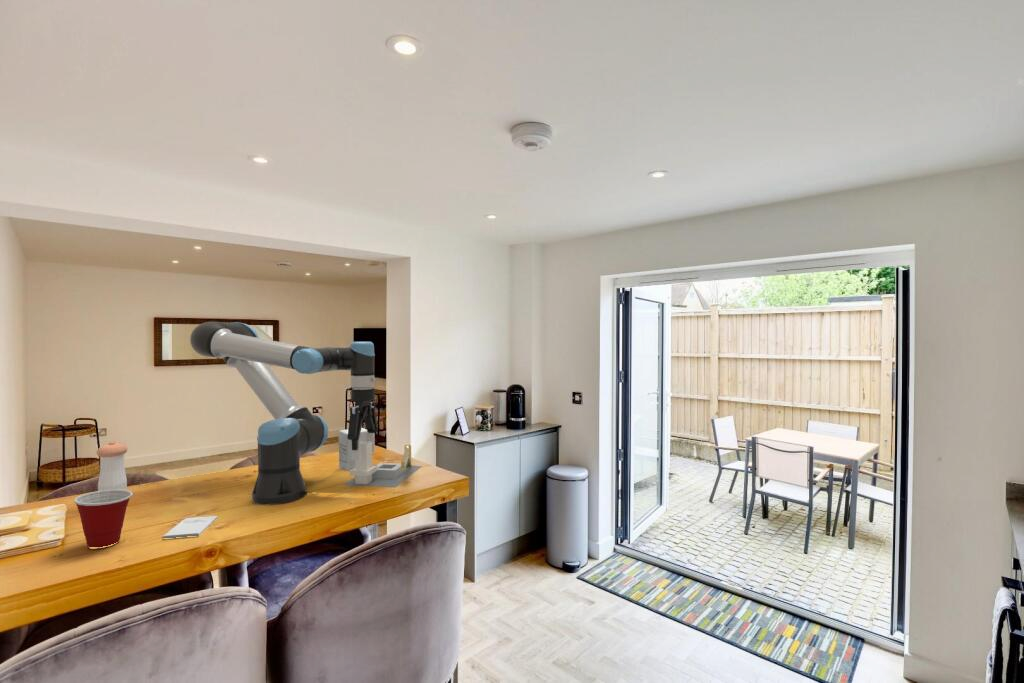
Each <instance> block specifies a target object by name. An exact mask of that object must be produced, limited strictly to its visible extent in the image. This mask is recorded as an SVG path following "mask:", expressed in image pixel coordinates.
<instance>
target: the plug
mask: <svg viewBox="0 0 1024 683" xmlns="http://www.w3.org/2000/svg"><path fill="white" fill-rule="evenodd" d="M376 471H377V466H375V465H373V453H372V442H362V441H361V460H355V468H354V469H352V470H350V471H349V476H354V478H355V484H368V483H370V482H371V481H372V474H373V473H374V472H376Z"/></svg>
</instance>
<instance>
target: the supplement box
mask: <svg viewBox="0 0 1024 683" xmlns="http://www.w3.org/2000/svg"><path fill="white" fill-rule="evenodd" d="M348 429H349V428H347V429H340V430H338V470H339V471H341V470H345V471H349V472H350V470H352V469H354V468H355V460H352V443H351V440H348ZM366 433H369V432H367V428H364V427H361V432H360V436H359V439H361V441H362V442H366Z"/></svg>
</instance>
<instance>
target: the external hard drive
mask: <svg viewBox="0 0 1024 683" xmlns="http://www.w3.org/2000/svg"><path fill="white" fill-rule="evenodd" d="M217 518H218V516H217V515H210V516H197V517H194V516H193V517H185V518H184V519H182V520H181V521H180V522H178V523H177V524H176V525H175V526H173V527H172V528H171V529H170V530H169V531H166V533H165V534H164V535H162V536H161V539H162V538H176V537H187V536H199V535H200V534H201V533H202V532H203V531H204V530H205V529H206V528H207V527H209V526H210V524H211V523H213V522H214V521H215V520H216V519H217ZM217 520H218V519H217ZM217 520H216V521H217ZM216 521H215V522H216ZM215 522H214V523H215ZM214 523H213V524H214ZM210 527H211V526H210ZM210 527H209V528H210Z"/></svg>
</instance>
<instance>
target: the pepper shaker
mask: <svg viewBox="0 0 1024 683" xmlns="http://www.w3.org/2000/svg"><path fill="white" fill-rule="evenodd" d="M127 451H128V447H127V445H126V444H124V443H122V442H121V443H120V442H119V443H118V442H116V441H113V440H112V441H109V442H108V444H103V445H101V446H99V448H98V449H96V455H97V457H99V459H100V460H99V464H100V466H99V469H100V470H99V475H98V476H99V477H98V483H97V491H102V490H118V489H121V490H128V479H127V474H126V470H125V454H126V453H127Z"/></svg>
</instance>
